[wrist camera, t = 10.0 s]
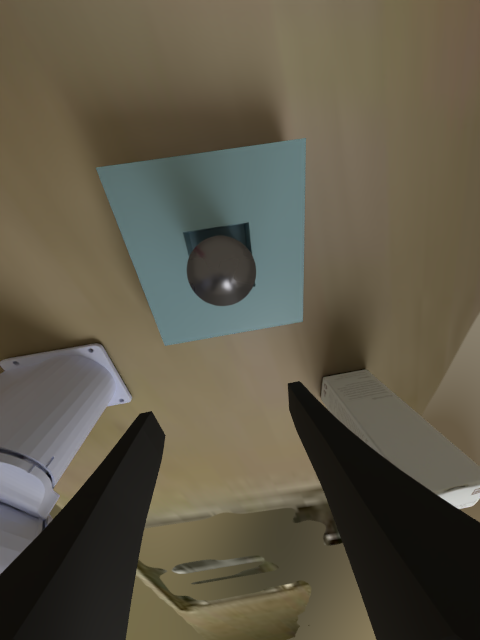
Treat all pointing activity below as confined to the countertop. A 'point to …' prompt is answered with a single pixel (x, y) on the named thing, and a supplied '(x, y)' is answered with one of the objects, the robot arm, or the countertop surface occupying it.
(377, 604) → the robot arm
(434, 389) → the countertop surface
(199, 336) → the socket block
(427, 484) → the skincare box
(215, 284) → the metal peg
